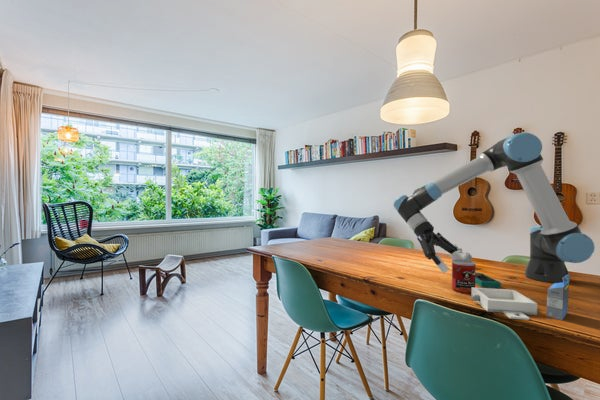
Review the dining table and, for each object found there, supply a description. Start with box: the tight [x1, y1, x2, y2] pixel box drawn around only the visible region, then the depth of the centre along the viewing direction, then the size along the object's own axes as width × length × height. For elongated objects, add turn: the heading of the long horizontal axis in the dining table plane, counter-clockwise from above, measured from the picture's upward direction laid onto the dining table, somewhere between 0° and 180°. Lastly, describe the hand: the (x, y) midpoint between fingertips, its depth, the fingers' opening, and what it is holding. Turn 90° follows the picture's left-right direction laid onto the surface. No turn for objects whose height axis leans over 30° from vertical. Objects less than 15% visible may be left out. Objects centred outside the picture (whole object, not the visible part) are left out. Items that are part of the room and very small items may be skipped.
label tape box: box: [545, 273, 570, 321], centre depth 89 cm, size 9×4×12 cm, turn 131°
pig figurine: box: [449, 244, 473, 266], centre depth 154 cm, size 5×13×11 cm, turn 28°
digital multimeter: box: [475, 272, 502, 289], centre depth 123 cm, size 7×15×3 cm, turn 174°
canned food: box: [451, 260, 476, 295], centre depth 111 cm, size 8×8×11 cm
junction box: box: [470, 286, 538, 321], centre depth 96 cm, size 17×22×4 cm
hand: (455, 269), depth 113 cm, fingers open, 13 cm apart
